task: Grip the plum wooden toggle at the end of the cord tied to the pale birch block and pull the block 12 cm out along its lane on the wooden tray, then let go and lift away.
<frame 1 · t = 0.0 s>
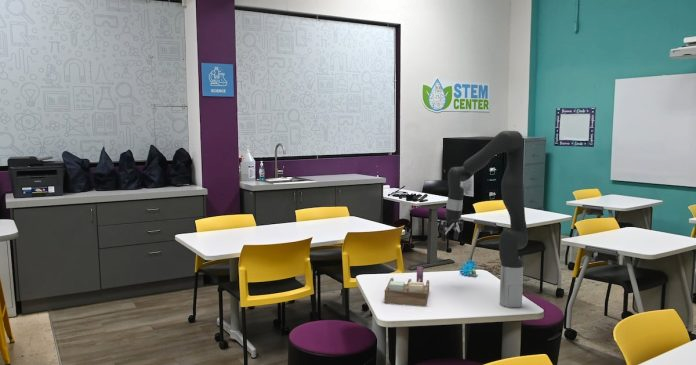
hand: (449, 240, 261), 22 cm above the table, tool pointing down, fingers open, 8 cm apart
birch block: (417, 283, 246), point 6 cm above the table, slide at 0.0 cm
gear: (468, 275, 284), on the table
sage block: (396, 294, 237), point 3 cm above the table, touching wooden tray
wooden tray: (407, 297, 243), on the table
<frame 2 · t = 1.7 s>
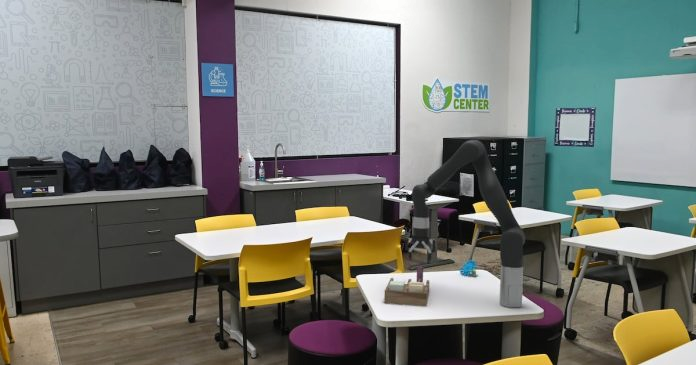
hand: (419, 260, 257), 14 cm above the table, tool pointing down, fingers open, 8 cm apart
nothing on the table moved.
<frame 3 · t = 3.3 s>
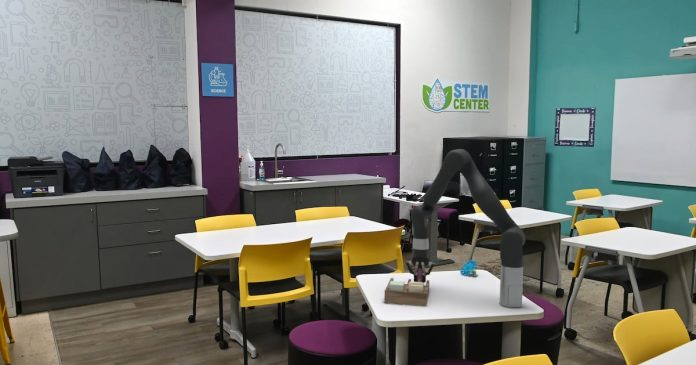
hand: (419, 282, 258), 3 cm above the table, tool pointing down, fingers closed on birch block, 3 cm apart
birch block: (417, 283, 246), point 6 cm above the table, slide at 0.0 cm, touching gripper
everything else where it was.
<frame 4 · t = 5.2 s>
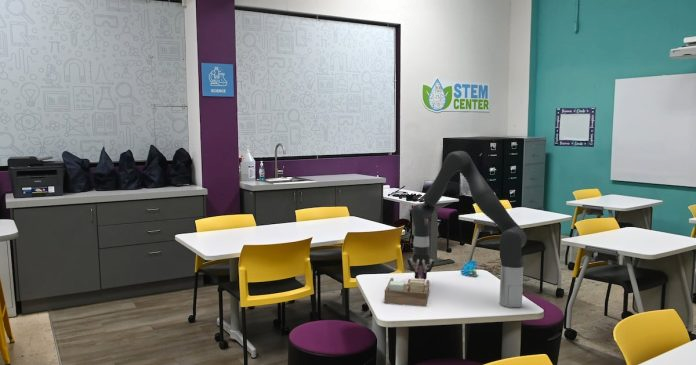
hand: (420, 279, 263), 3 cm above the table, tool pointing down, fingers closed on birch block, 3 cm apart
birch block: (418, 280, 251), point 6 cm above the table, slide at 5.8 cm, touching gripper
everything else where it was.
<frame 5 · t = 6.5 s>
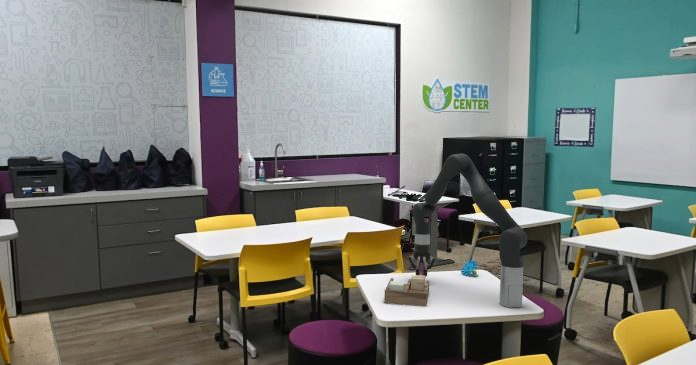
hand: (421, 276, 269), 3 cm above the table, tool pointing down, fingers closed on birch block, 3 cm apart
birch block: (419, 277, 257), point 6 cm above the table, slide at 11.7 cm, touching gripper
everything else where it was.
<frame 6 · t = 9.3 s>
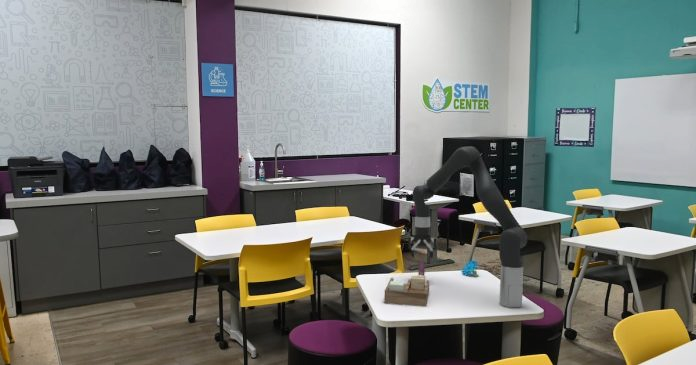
hand: (422, 257, 269), 12 cm above the table, tool pointing down, fingers open, 8 cm apart
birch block: (419, 276, 257), point 6 cm above the table, slide at 12.0 cm
everything else where it was.
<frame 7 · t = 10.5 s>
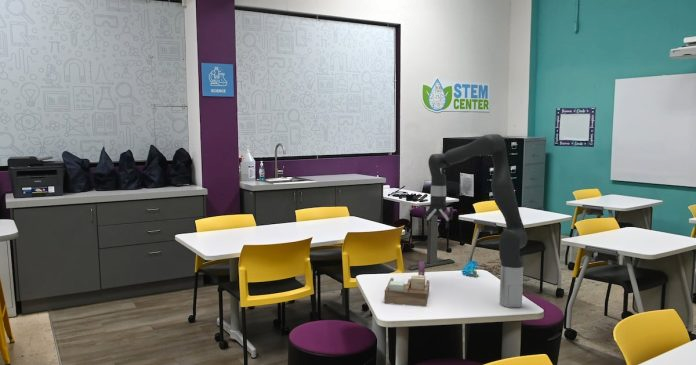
hand: (437, 227, 264), 28 cm above the table, tool pointing down, fingers open, 8 cm apart
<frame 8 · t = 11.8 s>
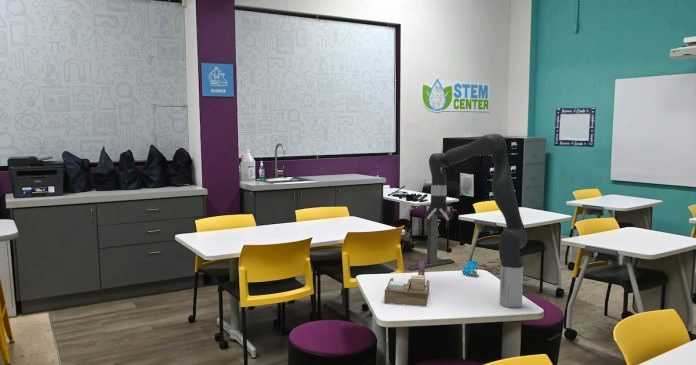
hand: (437, 227, 264), 28 cm above the table, tool pointing down, fingers open, 8 cm apart
at the end: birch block slide at 12.0 cm; the gripper is holding nothing; sage block moved 0.1 cm from its start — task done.
